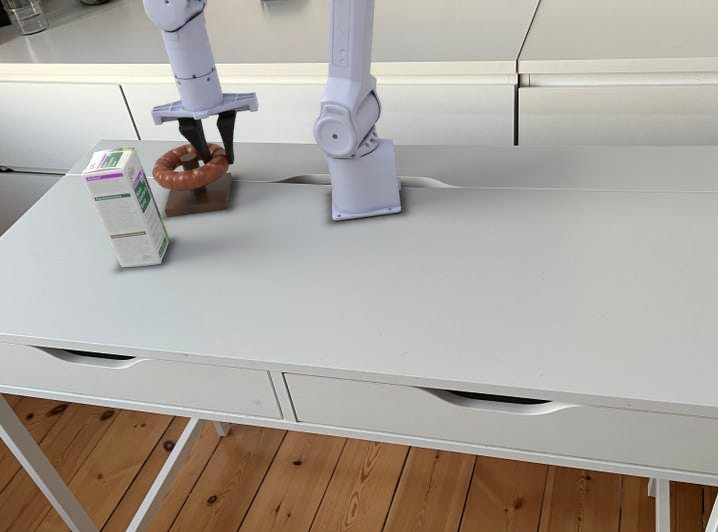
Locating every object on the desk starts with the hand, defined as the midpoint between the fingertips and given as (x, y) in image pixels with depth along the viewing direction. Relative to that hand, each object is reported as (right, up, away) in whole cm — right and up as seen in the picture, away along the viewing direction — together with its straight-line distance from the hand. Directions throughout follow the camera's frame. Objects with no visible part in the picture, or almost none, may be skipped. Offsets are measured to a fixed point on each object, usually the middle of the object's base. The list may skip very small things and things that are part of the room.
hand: (220, 162), depth 112 cm
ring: (-4, 0, 0) cm, 4 cm away
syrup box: (-9, -14, -6) cm, 18 cm away
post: (-4, -4, +4) cm, 7 cm away
